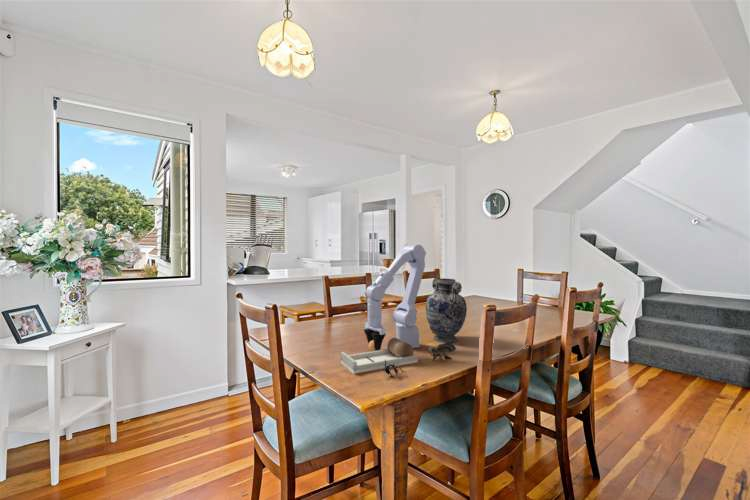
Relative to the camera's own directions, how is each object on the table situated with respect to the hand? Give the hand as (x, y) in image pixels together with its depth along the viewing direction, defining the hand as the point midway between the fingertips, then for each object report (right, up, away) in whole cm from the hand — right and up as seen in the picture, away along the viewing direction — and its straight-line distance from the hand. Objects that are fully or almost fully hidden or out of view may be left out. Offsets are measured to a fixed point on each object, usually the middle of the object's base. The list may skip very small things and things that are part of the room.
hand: (374, 348), depth 145 cm
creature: (+7, -3, -25) cm, 26 cm away
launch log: (+10, -2, -8) cm, 13 cm away
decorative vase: (+33, -1, +19) cm, 38 cm away
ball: (0, +1, 0) cm, 1 cm away
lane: (+2, -2, -12) cm, 13 cm away
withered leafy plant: (+26, -2, -9) cm, 27 cm away
